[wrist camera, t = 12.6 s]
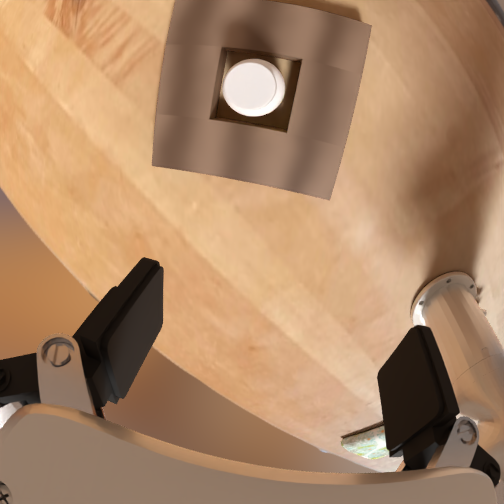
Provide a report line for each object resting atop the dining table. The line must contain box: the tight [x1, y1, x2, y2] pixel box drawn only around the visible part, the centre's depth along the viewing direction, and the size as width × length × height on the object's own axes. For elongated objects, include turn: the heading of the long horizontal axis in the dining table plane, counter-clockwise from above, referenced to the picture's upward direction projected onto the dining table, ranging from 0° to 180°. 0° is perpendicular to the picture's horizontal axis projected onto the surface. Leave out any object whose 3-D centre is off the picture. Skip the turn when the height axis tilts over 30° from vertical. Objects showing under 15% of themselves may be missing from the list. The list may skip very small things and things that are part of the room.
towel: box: [341, 426, 389, 459], centre depth 63 cm, size 18×21×5 cm
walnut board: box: [152, 0, 372, 200], centre depth 26 cm, size 20×20×3 cm
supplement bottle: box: [222, 59, 285, 116], centre depth 23 cm, size 5×5×10 cm
